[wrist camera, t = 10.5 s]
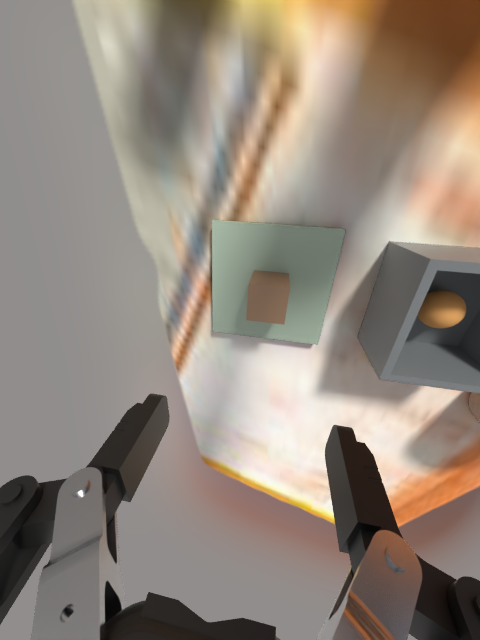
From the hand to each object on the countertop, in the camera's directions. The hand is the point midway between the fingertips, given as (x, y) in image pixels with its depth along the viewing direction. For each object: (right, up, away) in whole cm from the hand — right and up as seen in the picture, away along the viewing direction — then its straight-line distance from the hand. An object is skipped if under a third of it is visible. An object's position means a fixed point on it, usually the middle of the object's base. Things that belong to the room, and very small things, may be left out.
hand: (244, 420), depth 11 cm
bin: (+21, +7, +16) cm, 27 cm away
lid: (+3, +9, +18) cm, 20 cm away
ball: (+21, +6, +13) cm, 25 cm away
